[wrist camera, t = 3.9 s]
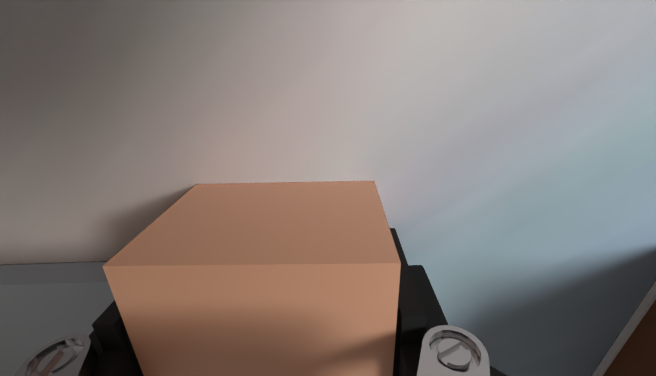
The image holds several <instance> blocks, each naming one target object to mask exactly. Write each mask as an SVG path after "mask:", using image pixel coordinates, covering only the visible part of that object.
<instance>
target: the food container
mask: <svg viewBox="0 0 656 376" xmlns="http://www.w3.org/2000/svg"><path fill="white" fill-rule="evenodd" d="M592 376H656V281H655V282H654V284H653V285H652V287H651V288H650V290H649V291H648V293H647V294H646V296H645V297H644V299H643V300H642V302H641V303H640V305H639V306H638V308H637V309H636V311H635V312H634V314H633V315H632V316H631V318H630V319H629V321H628V322H627V324H626V325H625V327H624V328H623V330H622V331H621V333H620V334H619V336H618V337H617V339H616V340H615V342H614V343H613V345H612V346H611V348H610V349H609V351H608V352H607V354H606V355H605V357H604V358H603V360H602V361H601V362H600V364H599V365H598V367H597V368H596V370H595V371H594V373H593V374H592Z"/></svg>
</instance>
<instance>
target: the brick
mask: <svg viewBox="0 0 656 376" xmlns="http://www.w3.org/2000/svg"><path fill="white" fill-rule="evenodd" d="M102 267H103V270H104V272H105V275H106V278H107V280H108V283H109V285H110V288H111V291H112V293H113V296H114V299H115V301H116V304H117V307H118V309H119V312H120V314H121V317H122V320H123V322H124V325H125V328H126V330H127V333H128V336H129V338H130V341H131V343H132V346H133V349H134V351H135V354H136V357H137V359H138V362H139V365H140V367H141V370H142V372H143V375H144V376H393V364H394V350H395V337H396V323H397V310H398V296H399V282H400V269H401V262H400V259H399V256H398V253H397V250H396V246H395V243H394V240H393V237H392V234H391V231H390V228H389V225H388V222H387V219H386V216H385V213H384V210H383V206H382V203H381V200H380V197H379V194H378V191H377V188H376V185H375V182H374V181H335V182H283V183H230V184H196V185H195V186H194V187H193V188H191V189H190V190H189V191H188V192H187V193H186V194H185V195H183V196H182V197H181V198H180V199H179V200H178V201H177V202H175V203H174V204H173V205H172V206H171V207H170V208H169V209H167V210H166V211H165V212H164V213H163V214H162V215H161V216H159V217H158V218H157V219H156V220H155V221H154V222H152V223H151V224H150V225H149V226H148V227H147V228H146V229H144V230H143V231H142V232H141V233H140V234H139V235H138V236H136V237H135V238H134V239H133V240H132V241H131V242H130V243H128V244H127V245H126V246H125V247H124V248H123V249H122V250H120V251H119V252H118V253H117V254H116V255H115V256H113V257H112V258H111V259H110V260H109V261H108V262H107V263H105V264H104V265H103V266H102Z"/></svg>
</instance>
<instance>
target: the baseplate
mask: <svg viewBox="0 0 656 376" xmlns="http://www.w3.org/2000/svg"><path fill="white" fill-rule="evenodd" d="M105 263H107V262H80V263H49V264H18V265H0V376H14V375H15V374H16V372H17V371H18V369H19V368H20V366H21V365H22V364H23V363H24V361H25V360H26V359H27V358H28V357H30V356H31V355H32V354H33V353H34V352H35V351H37V350H38V349H40V348H41V347H43V346H44V345H46V344H48V343H50V342H52V341H54V340H56V339H58V338H61V337H64V336H66V335H71V334H85V335H87V336H89V335H90V334H91V333H92V331H93V330H94V329H93V327H92V324H93V322H94V321H95V320H96V319H97V318H98V317H99V316H100V315H101V314H102V313H103V312H104V311H105V310H106V309H107V308H108V306H109V305H110V304H111V303H112V302H113V301H114V300H115V299H114V296H113V293H112V291H111V288H110V285H109V283H108V280H107V278H106V275H105V272H104V270H103V267H102V266H103V265H104V264H105Z"/></svg>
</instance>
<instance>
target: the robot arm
mask: <svg viewBox="0 0 656 376" xmlns="http://www.w3.org/2000/svg"><path fill="white" fill-rule="evenodd" d="M390 231H391V234H392V237H393V240H394V243H395V246H396V250H397V253H398V256H399V259H400V262H401V269H400V282H399V296H398V310H397V323H396V337H395V350H394V364H393V376H507V375H505V374H503V373H502V372H500V371H498V370H497V369H495V368H493V367H492V366H490V365H489V357H488V353H487V350H486V349H485V347H484V345H483V344H482V342H481V341H480V340H479V339H478V338H476V337H475V336H474V335H473V334H471V333H470V332H468V331H466V330H464V329H462V328H459V327H456V326H450V325H448V323H447V321H446V319H445V316H444V314H443V312H442V309H441V307H440V305H439V302H438V300H437V298H436V295H435V293H434V291H433V288H432V286H431V284H430V281H429V279H428V277H427V274H426V272H425V270H424V268H423V266H421V265H412V266H408V264H407V261H406V258H405V255H404V252H403V250H402V247H401V244H400V241H399V238H398V236H397V233H396V230H395V228H390ZM92 327H93V329H94V330H93V331H92V333H91V334H90V335H89V336H87V335H85V334H71V335H66V336H64V337H61V338H58V339H56V340H54V341H52V342H50V343H48V344H46V345H44V346H43V347H41V348H40V349H38V350H37V351H35V352H34V353H33V354H32V355H31V356H30V357H28V358H27V359H26V360H25V361H24V363H23V364H22V365H21V366H20V368H19V369H18V371H17V372H16V374H15V375H14V376H144V375H143V372H142V370H141V367H140V365H139V362H138V359H137V357H136V354H135V351H134V349H133V346H132V343H131V341H130V338H129V336H128V333H127V330H126V328H125V325H124V322H123V320H122V317H121V314H120V312H119V309H118V307H117V304H116V301H115V300H114V301H113V302H112V303H111V304H110V305H109V306H108V308H107V309H106V310H105V311H104V312H103V313H102V314H101V315H100V316H99V317H98V318H97V319H96V320H95V321H94V322H93V324H92Z"/></svg>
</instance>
